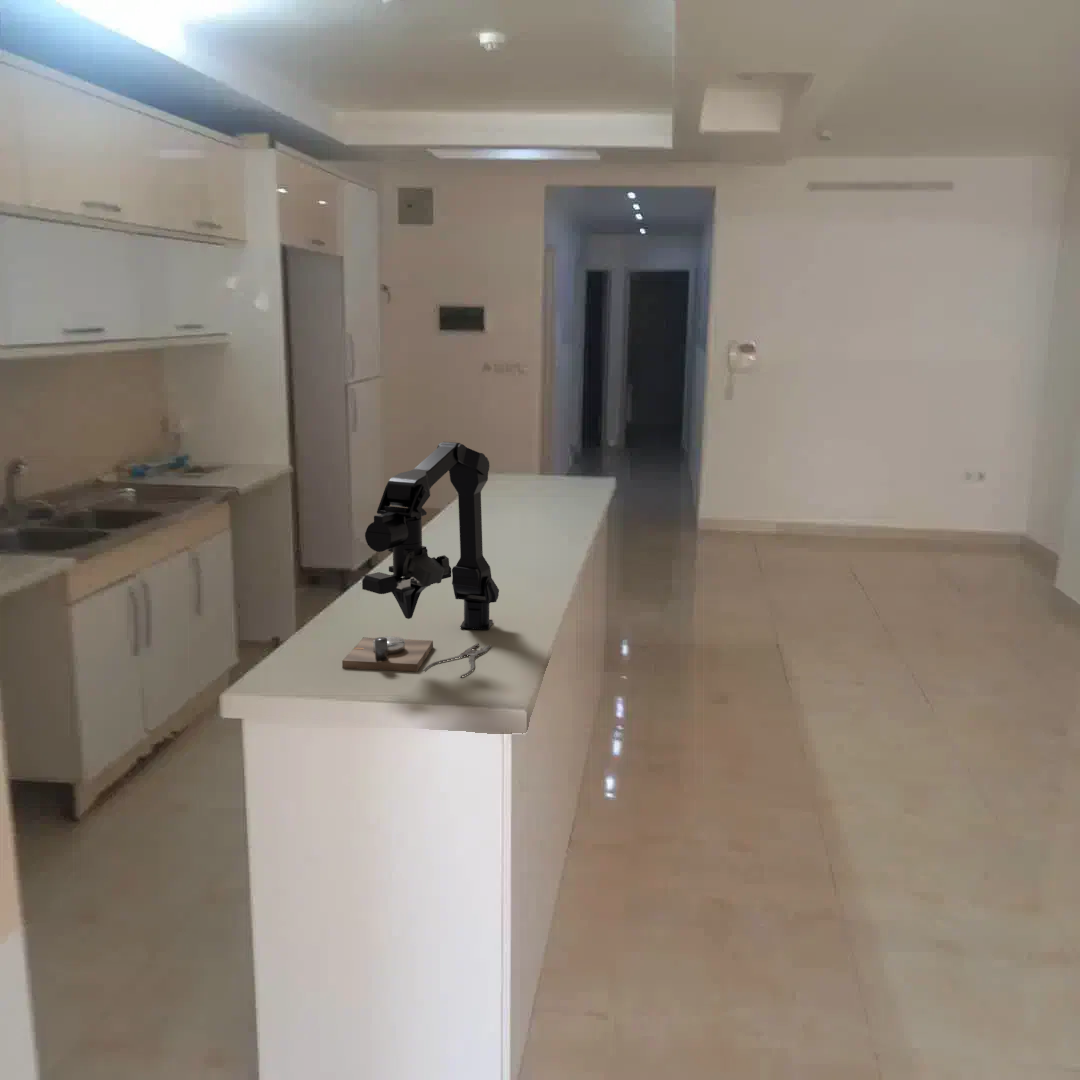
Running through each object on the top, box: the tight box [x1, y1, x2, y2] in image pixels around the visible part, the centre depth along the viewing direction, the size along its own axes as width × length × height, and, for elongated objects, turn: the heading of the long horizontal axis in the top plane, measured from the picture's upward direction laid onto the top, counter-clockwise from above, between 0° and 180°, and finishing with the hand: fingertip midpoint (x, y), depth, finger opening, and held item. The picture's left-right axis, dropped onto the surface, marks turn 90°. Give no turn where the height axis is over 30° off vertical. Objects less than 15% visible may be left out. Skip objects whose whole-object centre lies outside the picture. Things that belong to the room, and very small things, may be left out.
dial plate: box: [341, 636, 434, 672], centre depth 206 cm, size 15×15×2 cm
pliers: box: [422, 642, 491, 678], centre depth 206 cm, size 10×1×20 cm
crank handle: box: [373, 635, 405, 660], centre depth 204 cm, size 10×6×4 cm, turn 174°
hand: (408, 618), depth 201 cm, fingers closed
